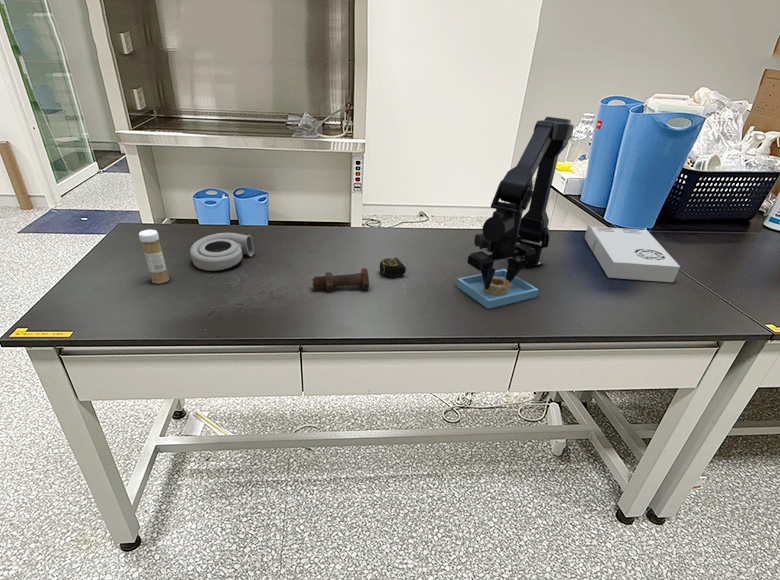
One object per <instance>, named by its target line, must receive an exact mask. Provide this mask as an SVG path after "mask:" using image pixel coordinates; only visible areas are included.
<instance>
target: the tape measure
mask: <svg viewBox="0 0 780 580" xmlns="http://www.w3.org/2000/svg"><path fill="white" fill-rule="evenodd" d="M406 270H407V268H406V265H404V264H403V263H402V261H401V260H400V259H399V258H398V257H386V258H383V259H382V260H380V263H379V271H380V273H381V274H382V275H383V276H387V277H398V276H403V275H404V274H406V272H407V271H406Z"/></svg>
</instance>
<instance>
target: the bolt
mask: <svg viewBox="0 0 780 580" xmlns="http://www.w3.org/2000/svg"><path fill="white" fill-rule="evenodd" d="M369 277H370V276H369V270H368V269H367V268H366V267H362V268H361V269H360V272H356V273H350V274H349V273H347V274H346V273H345V274H336V275H335V274H334V275H333V273H332V272H331V271H327V272H325V273H324V275H322V276H320V275H319V276H314V277H312V279H311V281H312V288H313V289H325V290H326V291H327V292H332V291H334V288H339V287H354V286H355V287H361V288H362V291H367V290H368V289H369V288H370V278H369Z"/></svg>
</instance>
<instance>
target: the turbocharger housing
mask: <svg viewBox="0 0 780 580" xmlns="http://www.w3.org/2000/svg"><path fill="white" fill-rule="evenodd" d="M189 253H190V257H191V261H192V264H193V265H194V266H195V267H196V268H197V269H199V270H203V271H206V272H207V271H208V272H216V271H218V272H219V271H224V270H226V269H231V268H232V267H234V266H237V265H238V264H239V263H240V262H241V261H242V258H243V255H245V256H248V257H253V255H254V254H255V247H254V242H253V237H252V235H250V234H248V235H247V234H242V233H236V232H220V233H219V232H218V233H214V234H209V235H206V236H203V237H202V238H200V239H198V240H196V241H195V242H194V243H193V244H192V245H191V247H190V249H189Z"/></svg>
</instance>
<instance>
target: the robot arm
mask: <svg viewBox="0 0 780 580" xmlns="http://www.w3.org/2000/svg"><path fill="white" fill-rule="evenodd" d="M574 127H575V126H574V124H572V121H571V119H569V118H561V117H555V116H545V118H544V119H543V120H542V119H540V120H537V121H536V122H535V125H534V128H533V133H532V135H531V137H530V139H529V141H528V143H527V144H526V147H525V148H524V151H523V152H522V155H520V159H519V160H518V162H517V164H516V166H514V167H512V168H511V169H509V170H508V171H507V172H506V174H504V175H505V176H503V179H502V180H500V182H499V184H498V186H497V189H496V191H495V194H494V197H493V199H492V202H491V203H490V209H494V211H493V212H492V216H490V217H489V218H487V219H486V220H485V221H484V223H483V225H482V233H475V236H474V247H479V250H481V251H476V252H471V253H470V254H468V257H467V264H468V265H469V266H471V267H473V268H474V269H476V270H477V271H480V274H482V277H483V282H484V287H485V289H488V288H489V286H490V284H491V281H492V279H493V276H494V273H495V271H497V269H496V268H495V267H494V263H495V262H500V261H505V260H507V269H506V270H507V274H506V279H507V280H509V281H510V283H511V281H512V280H513V279H514V277H515V276H518V274H519V273H520V271H521V270H522V269H524V268H525V269H529V268H534V267H538V266H542V265H543V262H541V261H540V259H541V254H542V250H543V249H545V248H548V247H549V243H550V238H551V237H550V236H551V235H550V229H549V221H550V219H549V216H548V213H547V211H546V210H547V205H548V203H549V198H550V193H551V190H552V189H551V188H552V185H553V180H554V176H555V174H556V173H555V172H556V167H557V163H558V160H559V155H561V153H562V152H563V151H564V150H565V148H567V146H568V144H569V141H570V140H571V138H572V136H573V133H574V129H575V128H574ZM535 174H536V176H535V180H534V184H533V178H534V175H535ZM528 206H529V208H528ZM527 208H528V210H527ZM524 211H527V212H526V213H525V214H524V215H523V212H524ZM483 249H486V251H487V252H488V253H491V254H488V253H486V252H484V251H483Z"/></svg>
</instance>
